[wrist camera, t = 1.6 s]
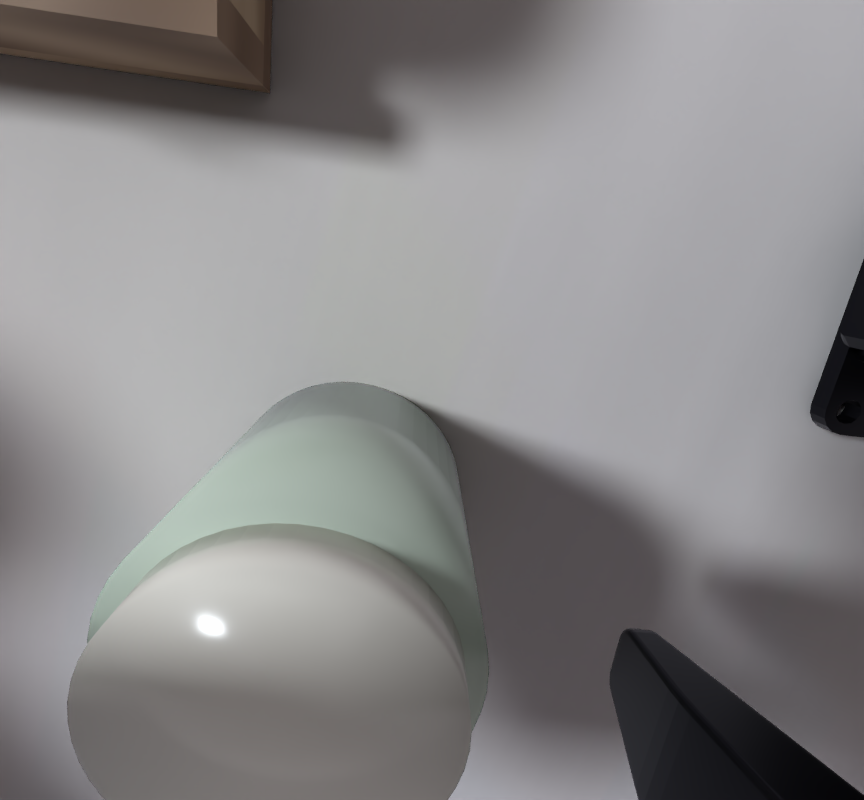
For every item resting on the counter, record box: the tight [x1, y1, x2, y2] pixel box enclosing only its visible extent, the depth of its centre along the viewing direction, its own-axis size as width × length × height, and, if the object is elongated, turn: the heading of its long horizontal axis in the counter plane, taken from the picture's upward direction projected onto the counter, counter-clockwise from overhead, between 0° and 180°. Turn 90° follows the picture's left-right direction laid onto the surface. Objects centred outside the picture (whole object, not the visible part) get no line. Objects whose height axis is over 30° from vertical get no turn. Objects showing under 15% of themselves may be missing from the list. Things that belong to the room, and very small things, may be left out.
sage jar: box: [67, 382, 489, 800], centre depth 8 cm, size 5×5×6 cm
